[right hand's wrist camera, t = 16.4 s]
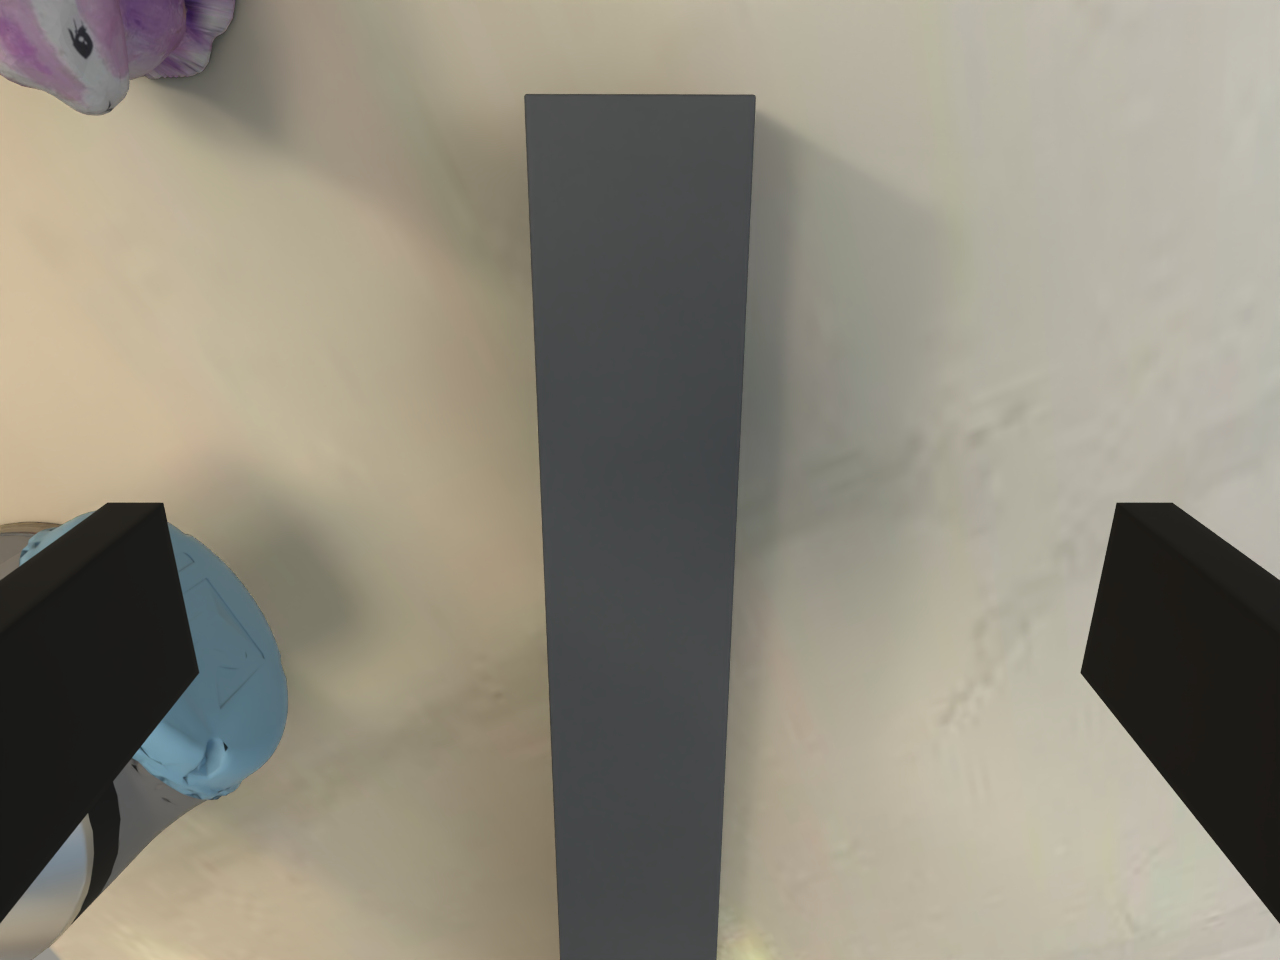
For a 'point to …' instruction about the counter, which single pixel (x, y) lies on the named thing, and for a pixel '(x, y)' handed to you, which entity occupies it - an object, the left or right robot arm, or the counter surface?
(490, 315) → the counter surface
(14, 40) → the figurine
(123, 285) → the counter surface
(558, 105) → the thick board
